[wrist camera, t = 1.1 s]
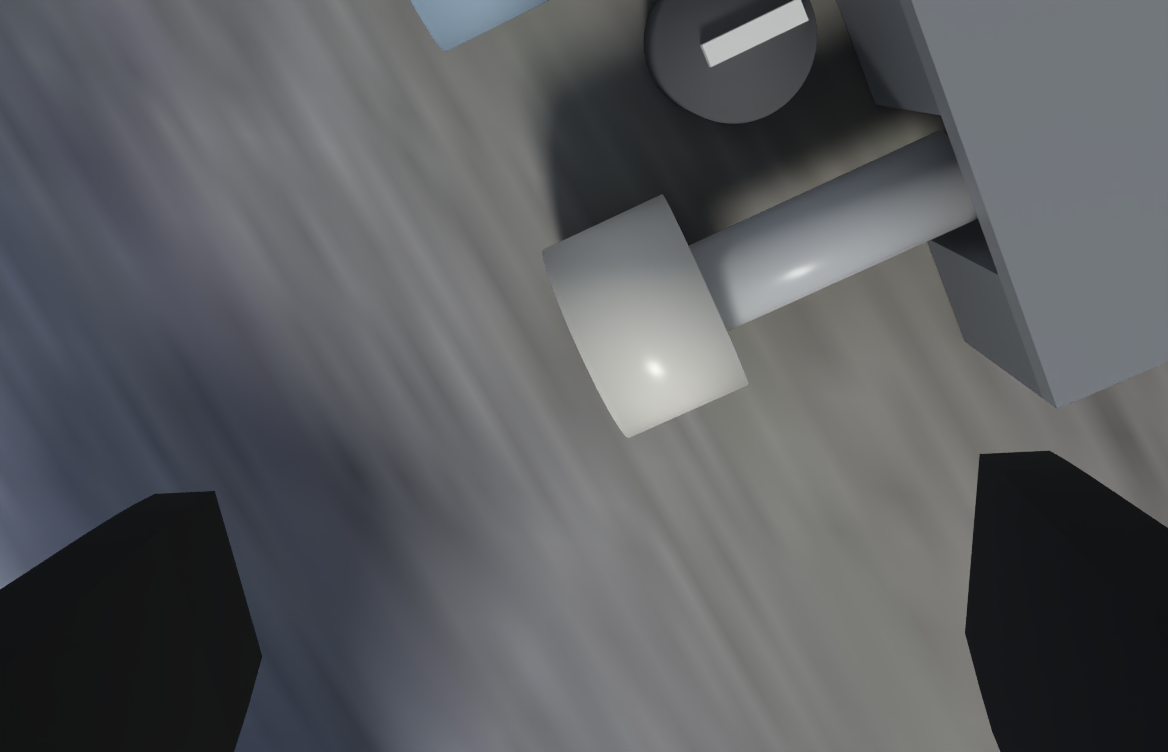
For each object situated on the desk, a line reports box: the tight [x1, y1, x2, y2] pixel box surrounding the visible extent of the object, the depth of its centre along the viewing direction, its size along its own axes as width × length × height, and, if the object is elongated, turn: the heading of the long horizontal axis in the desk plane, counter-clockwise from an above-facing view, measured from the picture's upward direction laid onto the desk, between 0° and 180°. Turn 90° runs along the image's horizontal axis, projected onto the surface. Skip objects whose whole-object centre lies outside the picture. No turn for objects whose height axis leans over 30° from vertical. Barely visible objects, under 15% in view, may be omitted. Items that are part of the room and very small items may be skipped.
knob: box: [542, 131, 978, 438], centre depth 21 cm, size 8×4×4 cm, turn 115°
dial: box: [644, 0, 817, 124], centre depth 20 cm, size 3×3×3 cm
